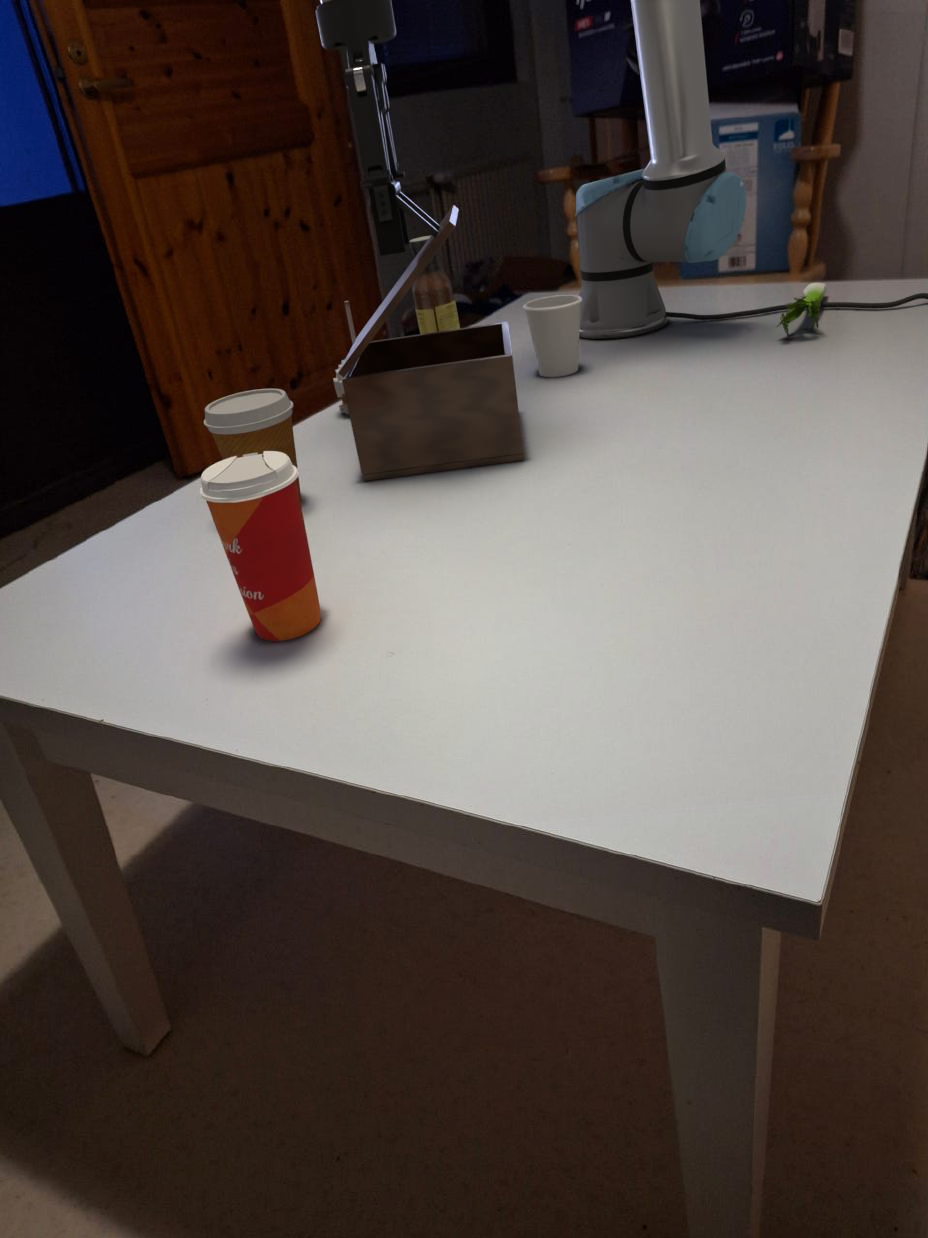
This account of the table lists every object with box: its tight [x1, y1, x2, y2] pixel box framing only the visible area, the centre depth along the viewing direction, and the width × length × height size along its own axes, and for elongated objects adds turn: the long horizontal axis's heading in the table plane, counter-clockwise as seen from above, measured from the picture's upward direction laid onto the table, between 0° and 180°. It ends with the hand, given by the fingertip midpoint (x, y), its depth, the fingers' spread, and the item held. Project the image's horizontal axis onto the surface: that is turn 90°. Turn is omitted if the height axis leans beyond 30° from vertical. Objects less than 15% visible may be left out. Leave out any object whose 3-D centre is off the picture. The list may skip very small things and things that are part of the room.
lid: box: [338, 178, 460, 377], centre depth 100 cm, size 19×18×8 cm
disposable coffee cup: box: [203, 388, 302, 503], centre depth 97 cm, size 10×10×12 cm
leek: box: [775, 282, 828, 339], centre depth 137 cm, size 6×7×30 cm
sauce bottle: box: [409, 235, 461, 334], centre depth 136 cm, size 7×6×20 cm
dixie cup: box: [522, 294, 582, 378], centre depth 129 cm, size 8×8×10 cm
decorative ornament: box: [332, 300, 357, 415], centre depth 125 cm, size 8×8×15 cm
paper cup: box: [198, 451, 322, 642], centre depth 72 cm, size 8×8×14 cm
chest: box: [342, 321, 525, 482], centre depth 107 cm, size 19×18×12 cm
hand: (395, 248), depth 99 cm, fingers closed on lid, 6 cm apart
